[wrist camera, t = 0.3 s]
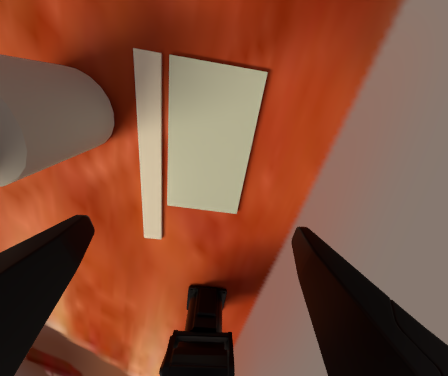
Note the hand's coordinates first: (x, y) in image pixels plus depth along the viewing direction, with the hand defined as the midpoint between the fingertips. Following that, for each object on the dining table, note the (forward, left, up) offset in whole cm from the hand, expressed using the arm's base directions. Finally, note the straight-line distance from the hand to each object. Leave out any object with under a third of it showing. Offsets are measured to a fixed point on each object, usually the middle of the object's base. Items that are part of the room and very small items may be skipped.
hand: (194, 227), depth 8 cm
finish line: (-3, +7, -14) cm, 16 cm away
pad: (0, 0, -14) cm, 14 cm away
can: (+2, +14, -14) cm, 20 cm away
